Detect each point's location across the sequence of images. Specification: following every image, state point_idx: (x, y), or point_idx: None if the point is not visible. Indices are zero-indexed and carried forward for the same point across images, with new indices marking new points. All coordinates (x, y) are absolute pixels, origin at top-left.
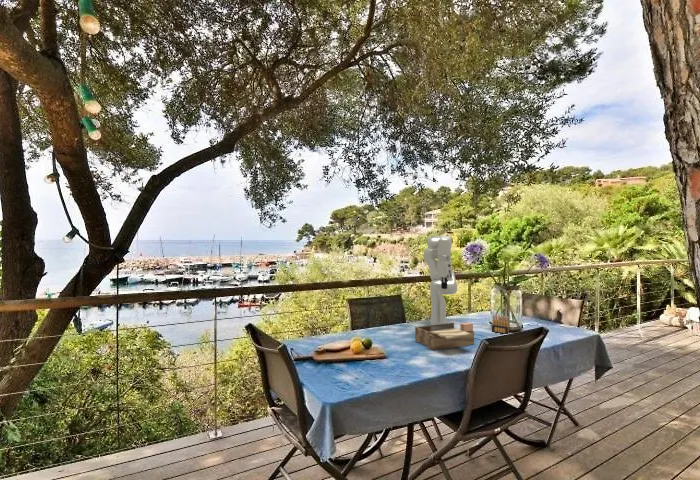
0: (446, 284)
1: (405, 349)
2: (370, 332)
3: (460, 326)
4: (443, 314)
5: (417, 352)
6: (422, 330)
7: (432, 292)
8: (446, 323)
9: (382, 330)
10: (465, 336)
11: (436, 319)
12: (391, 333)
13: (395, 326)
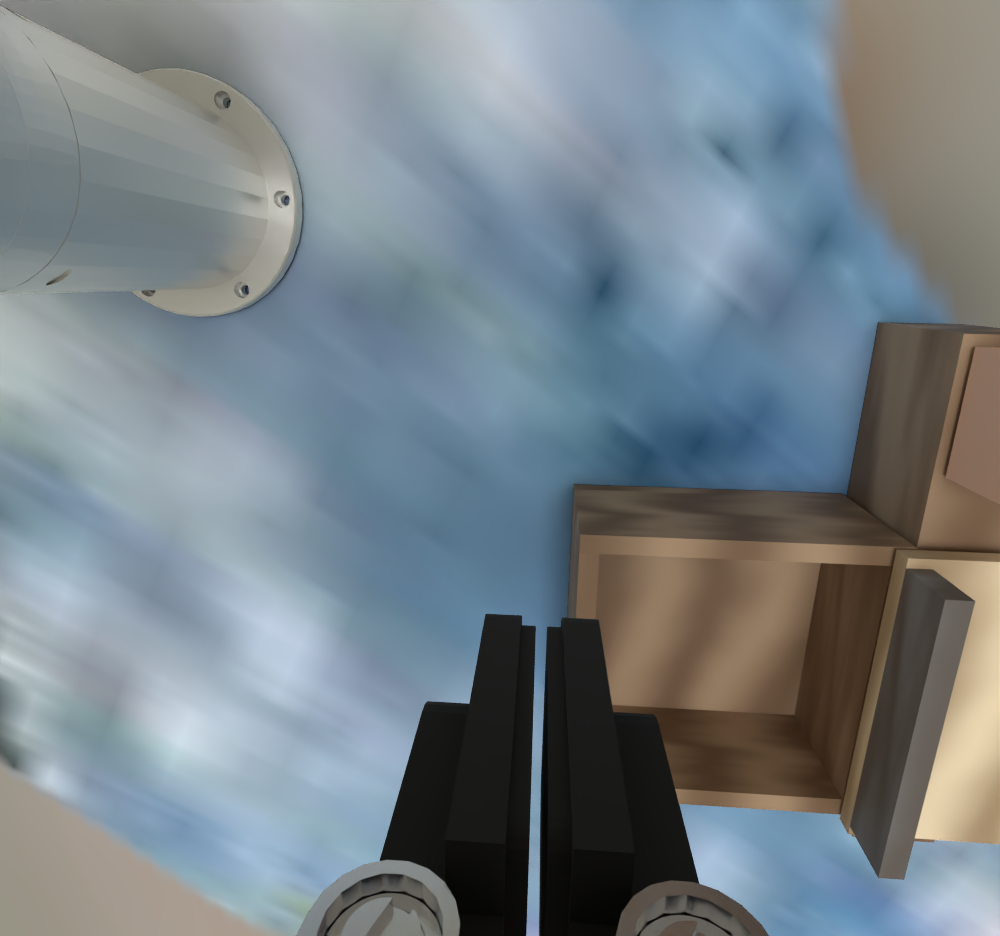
0: (677, 827)
1: (731, 880)
2: (183, 843)
3: (979, 493)
4: (181, 160)
5: (842, 857)
6: (703, 802)
7: None
8: (934, 695)
9: (147, 742)
10: None
11: (196, 269)
12: (268, 734)
13: (32, 578)
